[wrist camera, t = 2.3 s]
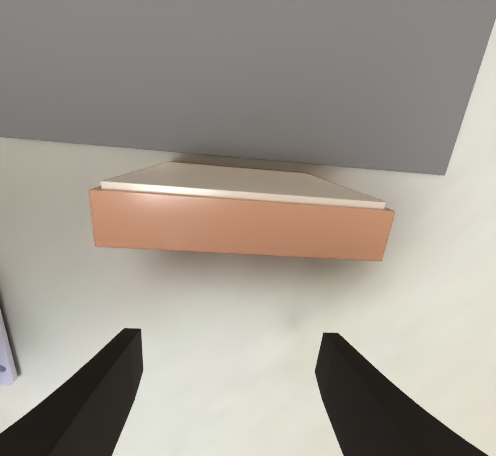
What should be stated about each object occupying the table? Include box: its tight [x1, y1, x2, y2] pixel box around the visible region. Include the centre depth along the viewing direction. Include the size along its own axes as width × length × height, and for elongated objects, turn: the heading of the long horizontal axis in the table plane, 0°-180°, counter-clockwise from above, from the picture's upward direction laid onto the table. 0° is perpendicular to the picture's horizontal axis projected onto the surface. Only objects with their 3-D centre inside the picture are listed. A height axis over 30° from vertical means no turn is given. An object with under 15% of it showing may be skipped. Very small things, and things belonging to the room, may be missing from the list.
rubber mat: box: [0, 0, 496, 175], centre depth 12 cm, size 12×24×1 cm, turn 85°
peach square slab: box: [89, 162, 395, 261], centre depth 10 cm, size 2×8×8 cm, turn 85°
